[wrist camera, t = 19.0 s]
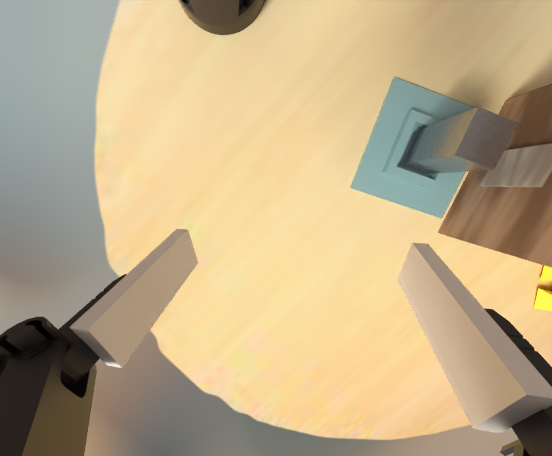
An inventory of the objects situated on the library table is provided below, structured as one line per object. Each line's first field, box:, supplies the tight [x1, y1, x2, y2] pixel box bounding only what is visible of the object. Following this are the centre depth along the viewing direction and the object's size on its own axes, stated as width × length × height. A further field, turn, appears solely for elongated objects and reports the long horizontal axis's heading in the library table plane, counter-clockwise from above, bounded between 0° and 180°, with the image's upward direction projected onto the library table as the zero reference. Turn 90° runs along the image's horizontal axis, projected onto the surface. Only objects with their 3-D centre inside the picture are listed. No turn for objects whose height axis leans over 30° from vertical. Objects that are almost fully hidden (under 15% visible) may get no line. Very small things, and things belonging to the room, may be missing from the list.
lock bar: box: [399, 107, 519, 174], centre depth 31 cm, size 6×6×12 cm
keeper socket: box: [350, 77, 475, 218], centre depth 37 cm, size 20×20×2 cm
